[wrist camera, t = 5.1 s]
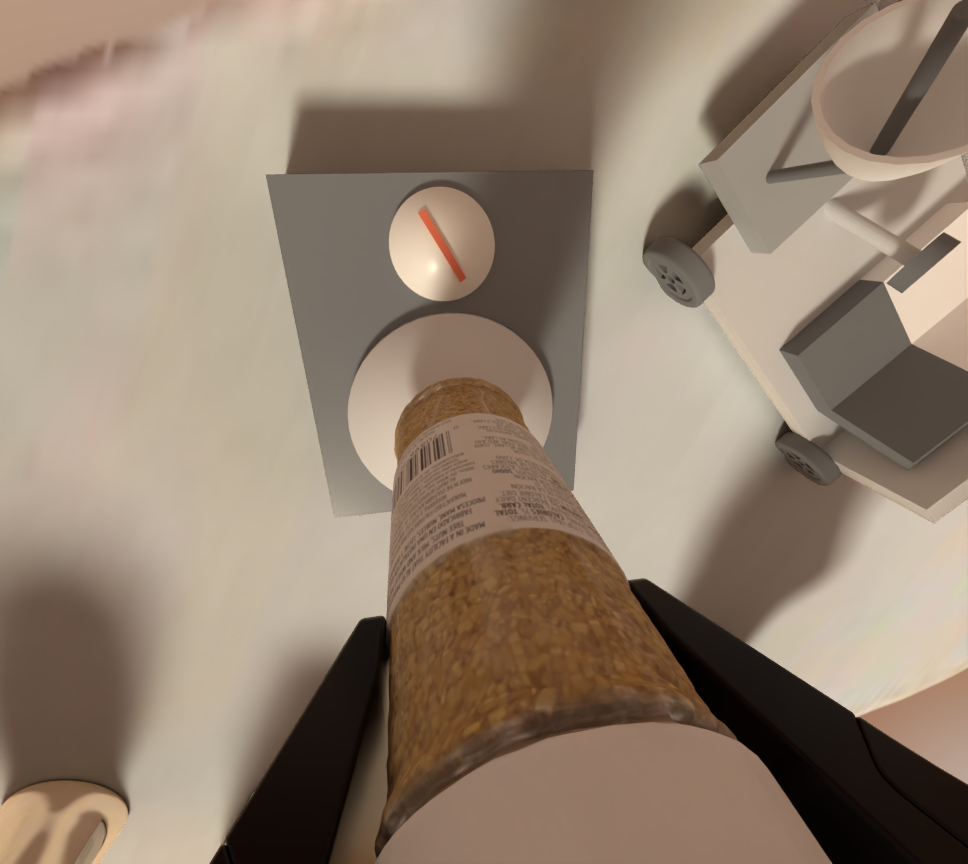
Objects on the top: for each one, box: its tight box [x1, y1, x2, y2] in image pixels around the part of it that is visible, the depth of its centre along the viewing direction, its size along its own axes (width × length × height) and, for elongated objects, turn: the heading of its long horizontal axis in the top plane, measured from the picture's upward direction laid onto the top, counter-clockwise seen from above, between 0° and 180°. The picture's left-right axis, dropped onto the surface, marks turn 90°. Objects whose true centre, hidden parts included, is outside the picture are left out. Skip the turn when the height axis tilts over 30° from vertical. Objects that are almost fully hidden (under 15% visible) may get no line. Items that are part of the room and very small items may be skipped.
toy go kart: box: [643, 0, 968, 523], centre depth 15 cm, size 18×10×12 cm
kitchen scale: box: [266, 170, 593, 518], centre depth 17 cm, size 12×10×3 cm
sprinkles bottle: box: [374, 377, 832, 864], centre depth 9 cm, size 5×5×14 cm
